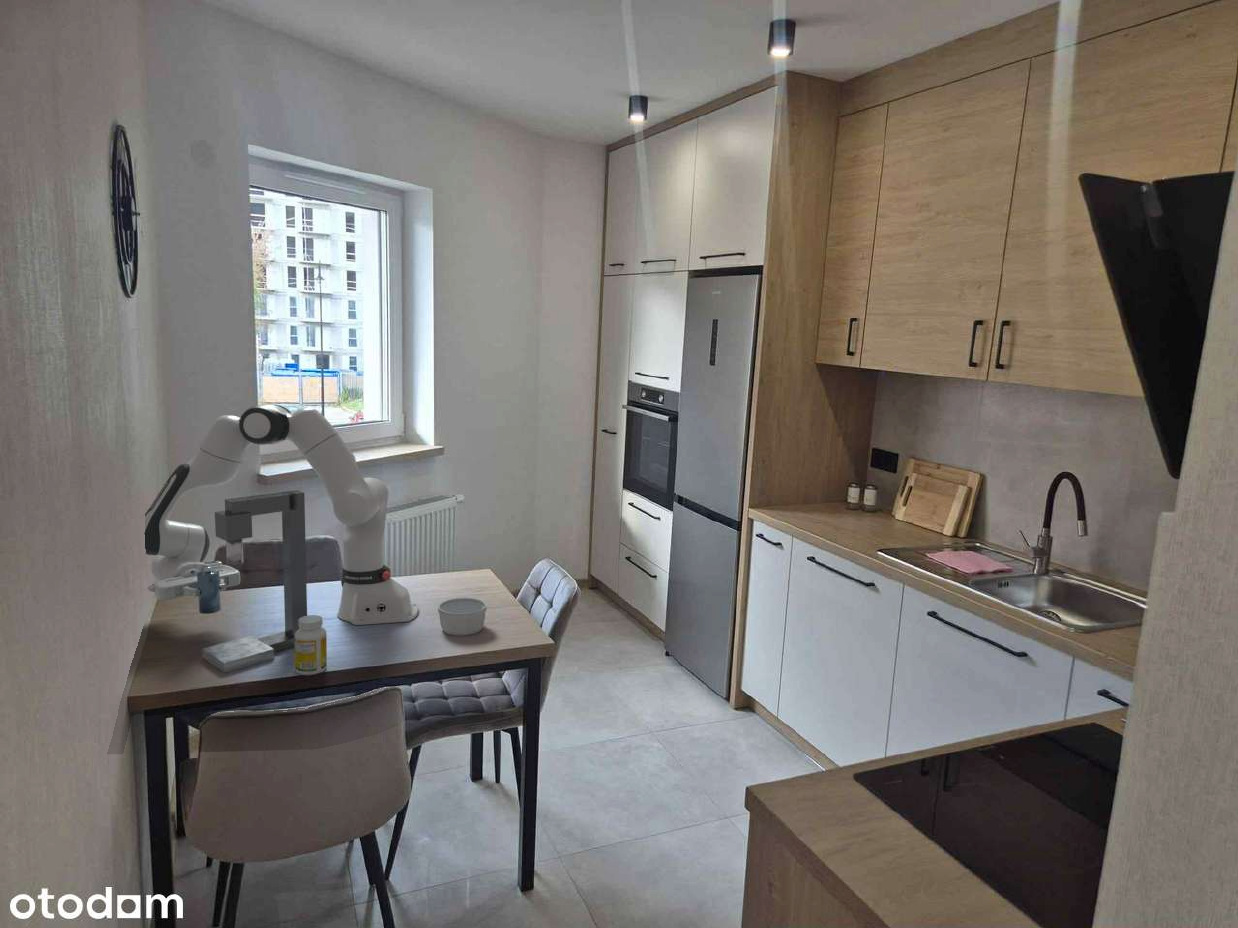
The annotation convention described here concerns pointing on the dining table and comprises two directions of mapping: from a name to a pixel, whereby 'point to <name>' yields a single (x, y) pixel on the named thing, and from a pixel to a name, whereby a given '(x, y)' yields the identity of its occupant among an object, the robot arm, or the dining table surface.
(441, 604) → the ramekin
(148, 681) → the dining table surface
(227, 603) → the dining table surface
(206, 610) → the blue bottle with knob
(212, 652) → the press
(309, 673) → the supplement bottle
